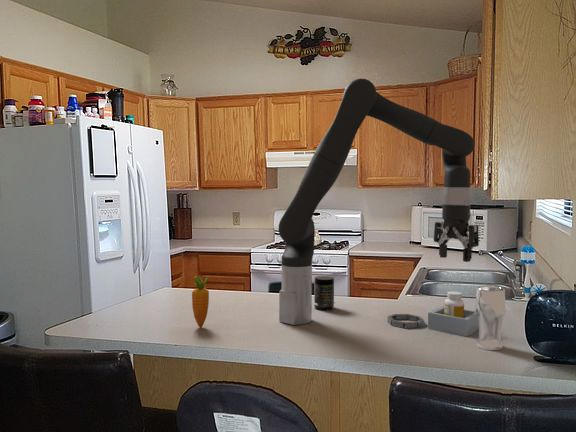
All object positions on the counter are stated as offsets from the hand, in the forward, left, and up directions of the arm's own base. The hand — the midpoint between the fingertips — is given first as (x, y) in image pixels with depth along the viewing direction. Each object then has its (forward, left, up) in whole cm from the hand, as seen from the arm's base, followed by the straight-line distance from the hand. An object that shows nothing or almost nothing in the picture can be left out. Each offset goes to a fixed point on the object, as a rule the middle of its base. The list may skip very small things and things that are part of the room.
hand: (454, 259), depth 135 cm
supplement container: (-7, +42, -20) cm, 47 cm away
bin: (0, 0, -20) cm, 20 cm away
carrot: (-49, +55, -20) cm, 76 cm away
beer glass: (-10, -13, -20) cm, 26 cm away
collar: (-5, +13, -20) cm, 24 cm away
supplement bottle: (0, 0, -20) cm, 20 cm away
